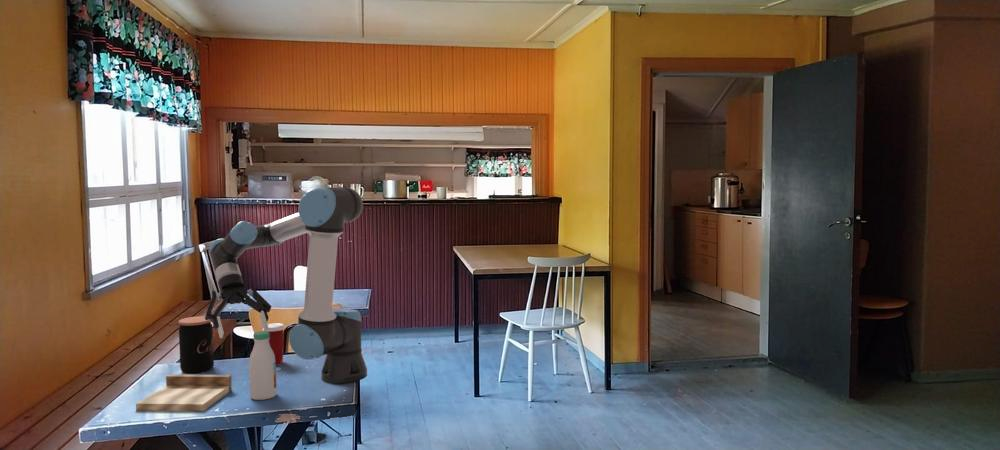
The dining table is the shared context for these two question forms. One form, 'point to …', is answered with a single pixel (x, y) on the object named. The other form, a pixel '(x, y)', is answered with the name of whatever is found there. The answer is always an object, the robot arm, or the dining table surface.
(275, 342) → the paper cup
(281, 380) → the dining table surface
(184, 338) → the coffee jar
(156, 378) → the dining table surface
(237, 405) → the dining table surface
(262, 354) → the milk bottle
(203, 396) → the light wooden flat tray
